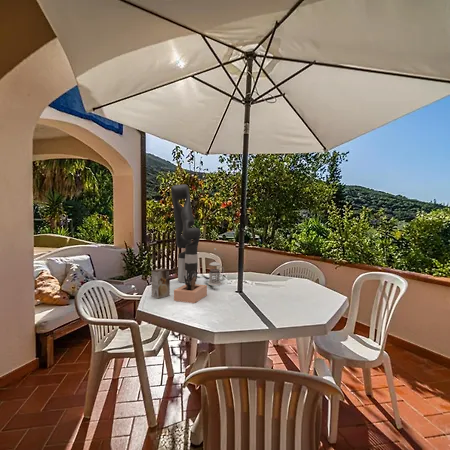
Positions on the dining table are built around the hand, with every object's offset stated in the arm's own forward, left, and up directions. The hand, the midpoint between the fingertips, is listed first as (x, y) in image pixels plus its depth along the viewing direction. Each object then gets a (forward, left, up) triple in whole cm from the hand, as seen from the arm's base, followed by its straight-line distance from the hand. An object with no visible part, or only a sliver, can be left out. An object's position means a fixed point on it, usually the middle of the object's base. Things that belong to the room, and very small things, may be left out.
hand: (190, 290), depth 187 cm
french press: (-39, +1, -5) cm, 39 cm away
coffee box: (+4, -18, -5) cm, 19 cm away
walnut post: (0, 0, -2) cm, 2 cm away
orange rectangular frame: (0, 0, -4) cm, 4 cm away
